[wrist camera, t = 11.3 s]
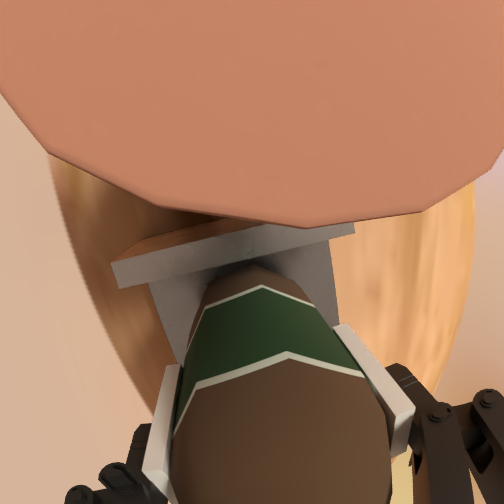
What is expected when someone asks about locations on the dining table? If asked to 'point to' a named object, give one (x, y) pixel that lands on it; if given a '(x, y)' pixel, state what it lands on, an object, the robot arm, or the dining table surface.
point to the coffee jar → (263, 100)
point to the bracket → (227, 266)
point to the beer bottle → (273, 404)
